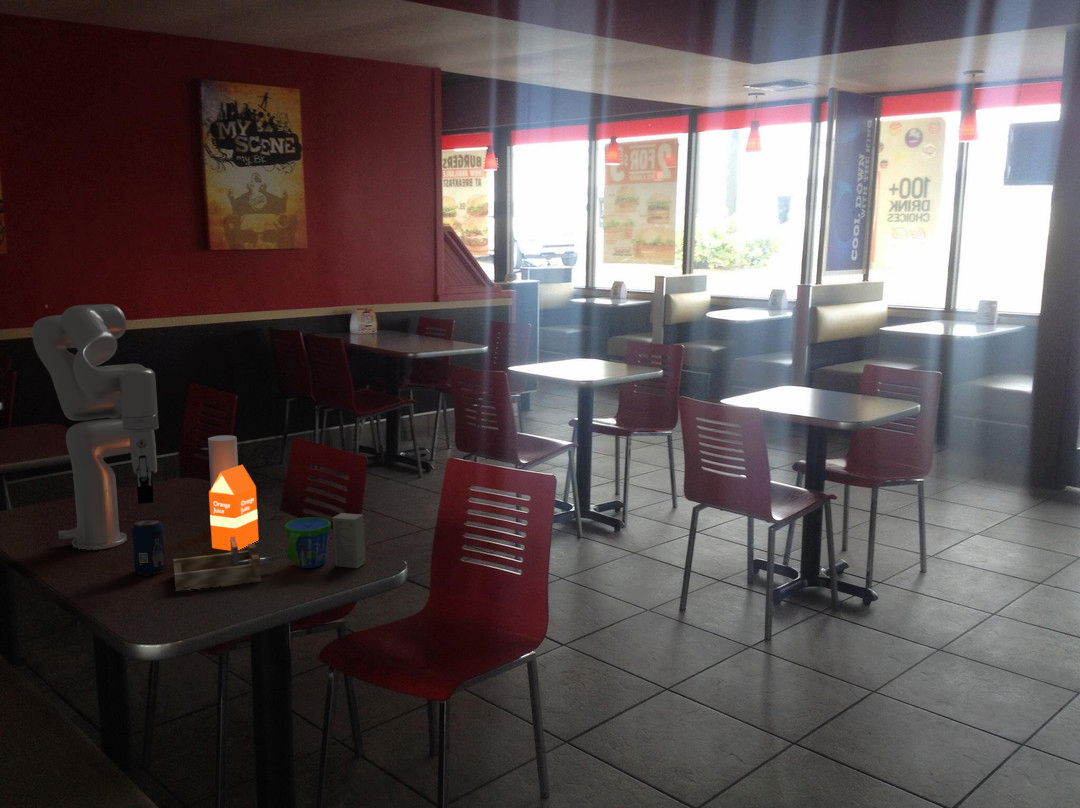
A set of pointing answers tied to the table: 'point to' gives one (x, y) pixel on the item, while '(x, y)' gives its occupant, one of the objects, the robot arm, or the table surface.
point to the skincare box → (349, 540)
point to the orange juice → (233, 509)
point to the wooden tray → (216, 570)
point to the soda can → (149, 546)
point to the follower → (243, 562)
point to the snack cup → (307, 541)
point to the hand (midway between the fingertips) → (145, 498)
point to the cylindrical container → (222, 455)
